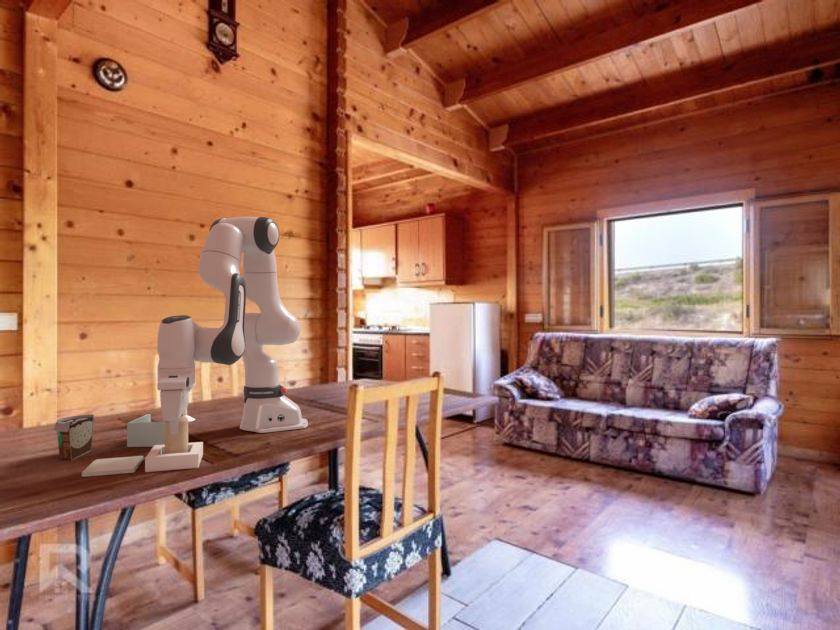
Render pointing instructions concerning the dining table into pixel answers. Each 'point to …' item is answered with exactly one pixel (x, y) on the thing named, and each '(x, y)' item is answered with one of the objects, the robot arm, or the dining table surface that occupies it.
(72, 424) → the food container
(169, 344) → the robot arm
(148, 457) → the pocket block
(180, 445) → the candle
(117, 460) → the cream tile
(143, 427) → the l-shaped corner panel
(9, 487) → the dining table surface
